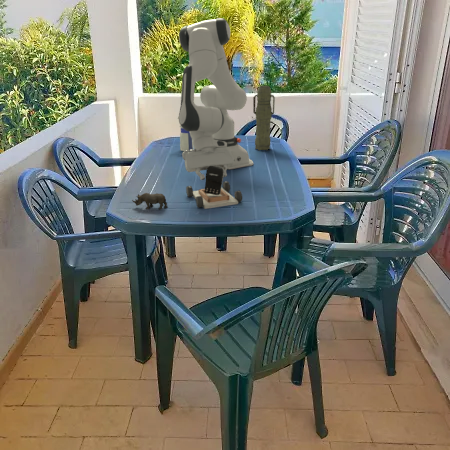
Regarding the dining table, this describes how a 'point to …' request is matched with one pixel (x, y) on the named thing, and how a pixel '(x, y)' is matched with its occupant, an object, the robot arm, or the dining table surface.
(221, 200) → the chassis
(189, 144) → the water bottle
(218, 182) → the battery charger
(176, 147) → the dining table surface
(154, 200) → the rhino figurine
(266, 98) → the thermos
